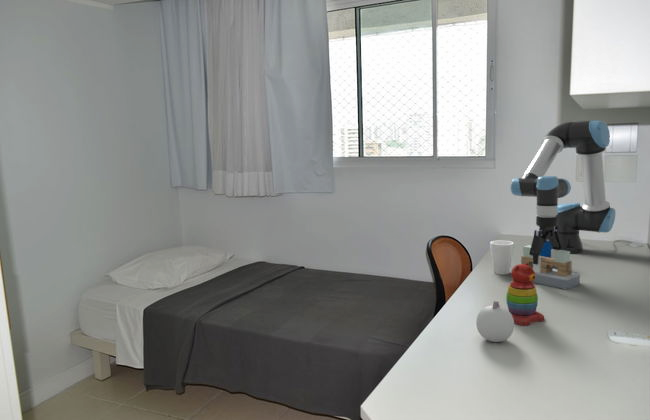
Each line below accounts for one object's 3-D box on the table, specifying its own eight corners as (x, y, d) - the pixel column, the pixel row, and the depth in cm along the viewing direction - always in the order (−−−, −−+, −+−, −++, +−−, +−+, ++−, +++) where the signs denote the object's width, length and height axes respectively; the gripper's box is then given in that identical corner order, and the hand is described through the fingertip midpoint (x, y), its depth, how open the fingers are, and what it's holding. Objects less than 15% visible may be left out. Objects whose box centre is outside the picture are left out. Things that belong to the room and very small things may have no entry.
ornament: (509, 350, 137) (509, 308, 135) (472, 343, 142) (472, 303, 140) (517, 337, 145) (517, 297, 143) (481, 331, 151) (481, 293, 149)
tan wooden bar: (528, 265, 205) (528, 254, 205) (571, 274, 191) (571, 261, 191) (521, 268, 202) (521, 256, 202) (564, 276, 188) (565, 263, 188)
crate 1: (528, 254, 204) (528, 245, 204) (537, 256, 201) (538, 246, 200) (523, 256, 202) (523, 246, 201) (532, 257, 199) (532, 248, 198)
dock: (526, 273, 209) (526, 263, 209) (579, 283, 192) (579, 273, 191) (513, 277, 203) (513, 268, 203) (566, 289, 186) (566, 279, 185)
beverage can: (549, 263, 222) (550, 237, 221) (554, 267, 216) (555, 240, 214) (534, 263, 223) (535, 237, 221) (539, 267, 217) (539, 240, 215)
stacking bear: (523, 327, 152) (524, 270, 150) (498, 317, 161) (498, 264, 159) (547, 319, 157) (548, 265, 155) (521, 310, 166) (522, 258, 164)
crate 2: (559, 259, 194) (559, 249, 193) (569, 261, 191) (570, 251, 190) (554, 261, 191) (554, 251, 191) (564, 263, 188) (564, 253, 188)
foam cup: (489, 274, 209) (489, 244, 208) (490, 269, 218) (490, 240, 216) (513, 276, 206) (513, 245, 204) (513, 270, 214) (514, 240, 212)
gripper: (553, 211, 204) (552, 261, 207) (520, 219, 189) (519, 273, 192) (572, 212, 198) (570, 264, 201) (538, 221, 183) (537, 276, 186)
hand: (545, 268), depth 197 cm, fingers open, 13 cm apart
